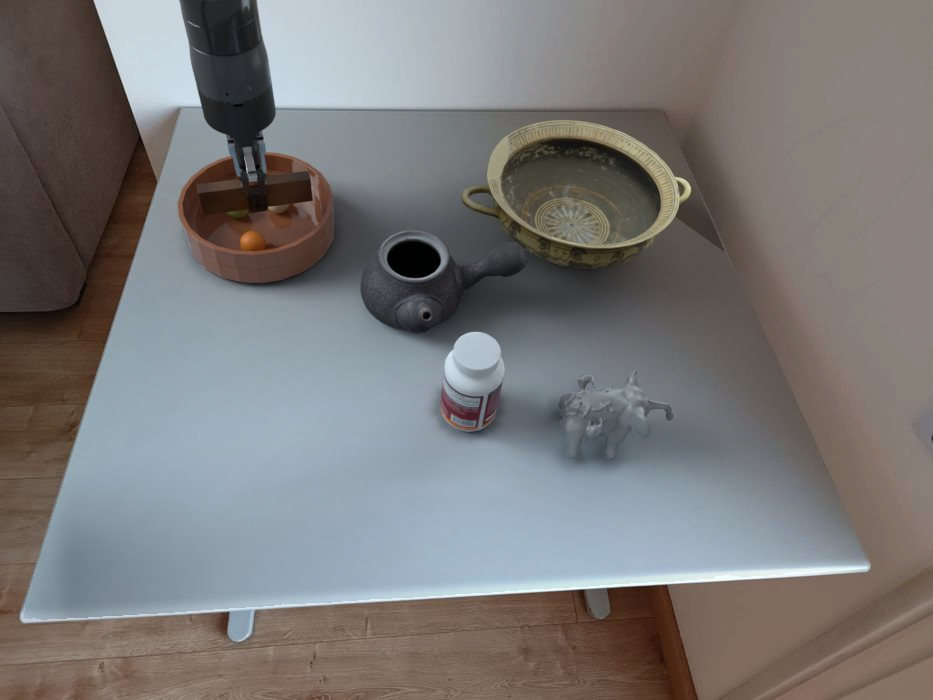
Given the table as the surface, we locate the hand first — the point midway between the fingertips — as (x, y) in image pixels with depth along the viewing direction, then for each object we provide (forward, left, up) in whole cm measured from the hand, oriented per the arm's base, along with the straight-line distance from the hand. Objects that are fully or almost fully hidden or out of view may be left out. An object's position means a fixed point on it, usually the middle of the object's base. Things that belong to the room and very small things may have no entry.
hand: (257, 203), depth 87 cm
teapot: (+19, -17, -5) cm, 26 cm away
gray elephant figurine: (+32, -38, -5) cm, 49 cm away
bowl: (0, 0, -5) cm, 5 cm away
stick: (0, 0, 0) cm, 0 cm away
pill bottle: (+18, -32, -5) cm, 37 cm away
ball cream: (+2, +3, -4) cm, 6 cm away
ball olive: (-3, +3, -4) cm, 6 cm away
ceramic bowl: (+39, -9, -5) cm, 40 cm away
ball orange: (-1, -4, -4) cm, 6 cm away
